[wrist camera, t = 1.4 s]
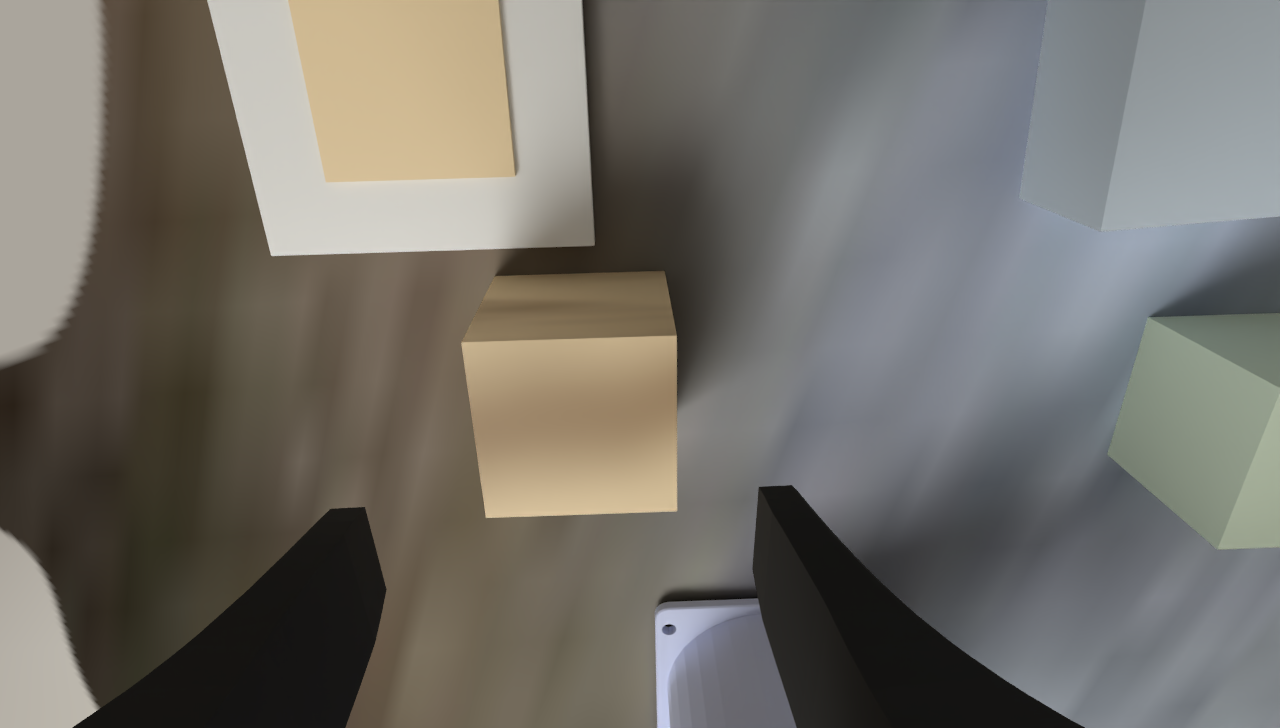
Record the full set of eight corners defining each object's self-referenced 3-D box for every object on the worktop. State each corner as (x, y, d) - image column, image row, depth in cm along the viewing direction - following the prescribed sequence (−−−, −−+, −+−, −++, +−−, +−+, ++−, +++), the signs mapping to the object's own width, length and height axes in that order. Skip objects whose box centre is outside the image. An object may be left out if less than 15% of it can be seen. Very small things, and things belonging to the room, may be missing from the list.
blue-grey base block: (1257, 175, 21) (1394, 206, 17) (1015, 197, 21) (1100, 232, 17) (1338, -112, 18) (1524, -149, 14) (1055, -86, 18) (1169, -116, 14)
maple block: (665, 417, 23) (677, 511, 19) (511, 422, 23) (485, 518, 19) (664, 270, 21) (676, 335, 17) (495, 275, 21) (461, 342, 17)
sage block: (1250, 448, 24) (1394, 543, 20) (1105, 453, 24) (1217, 549, 20) (1304, 311, 22) (1479, 382, 18) (1146, 316, 22) (1281, 388, 18)
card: (595, 240, 21) (594, 247, 20) (280, 249, 20) (267, 257, 20) (575, -135, 17) (573, -143, 16) (188, -127, 17) (169, -134, 16)
